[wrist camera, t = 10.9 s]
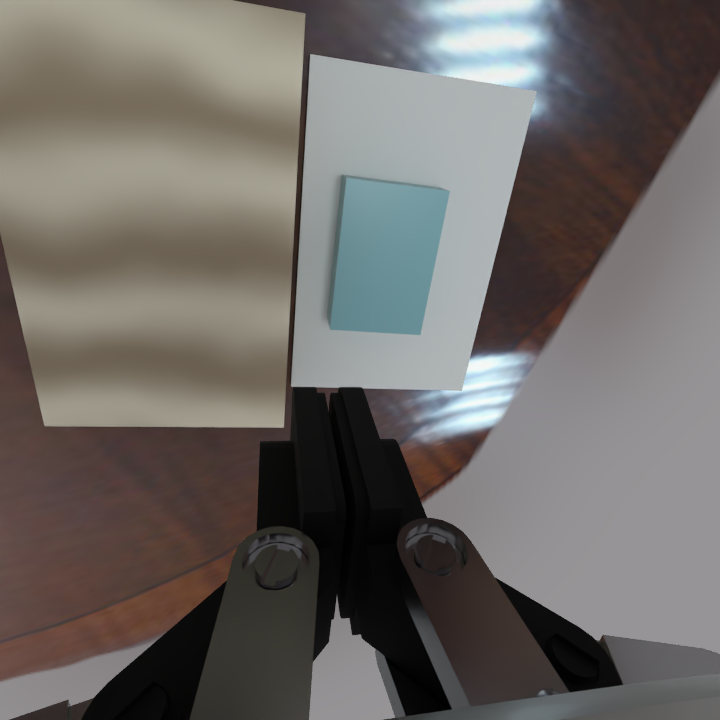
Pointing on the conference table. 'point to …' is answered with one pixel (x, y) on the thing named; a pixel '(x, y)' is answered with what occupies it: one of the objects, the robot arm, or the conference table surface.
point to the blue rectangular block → (384, 255)
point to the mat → (416, 166)
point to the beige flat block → (151, 206)
